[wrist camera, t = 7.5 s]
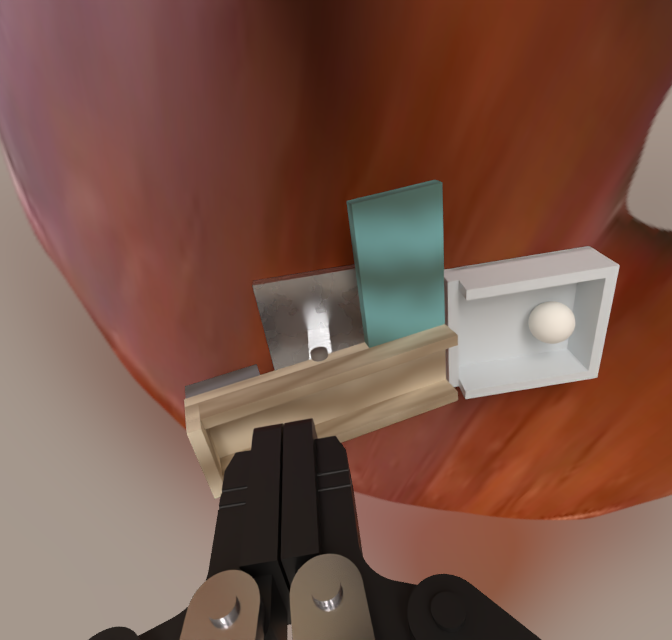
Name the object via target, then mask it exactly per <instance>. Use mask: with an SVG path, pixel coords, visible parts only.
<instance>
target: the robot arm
mask: <svg viewBox="0 0 672 640" xmlns="http://www.w3.org/2000/svg"><path fill="white" fill-rule="evenodd" d="M289 624H291V625H292V640H541V639H540V638H539V637H537V636H536V635H535V634H533V633H532V632H531V631H530V630H528V629H527V628H526V627H525V626H523V625H522V624H521V623H520V622H518V621H517V620H516V619H514V618H513V617H512V616H511V615H509V614H508V613H507V612H506V611H504V610H503V609H502V608H501V607H499V606H498V605H497V604H495V603H494V602H493V601H492V600H491V599H489V598H488V597H487V596H485V595H484V594H483V593H481V592H480V591H479V590H478V589H477V588H475V587H474V586H473V585H472V584H470V583H469V582H467V581H466V580H464V579H462V578H460V577H457V576H454V575H449V574H438V575H433V576H430V577H428V578H426V579H424V580H423V581H421V582H420V583H419V584H418V585H414V584H409V583H404V582H398V581H394V580H390V579H387V578H385V577H383V576H380V575H379V574H377V573H376V572H375V571H374V570H372V569H371V568H370V567H369V565H368V564H367V563H366V562H365V560H364V558H363V554H362V547H361V540H360V533H359V526H358V519H357V512H356V505H355V498H354V490H353V485H352V480H351V474H350V469H349V464H348V458H347V453H346V449H345V448H344V447H343V445H342V444H341V443H340V441H339V440H338V438H337V437H336V436H330V437H324V438H318V437H317V433H316V429H315V424H314V421H313V418H310V419H304V420H298V421H292V422H287V423H284V424H283V423H281V424H275V425H270V426H264V427H258V428H254V430H253V435H252V445H251V450H248V451H242V452H236V453H235V454H234V456H233V458H232V459H231V461H230V463H229V464H228V466H227V468H226V469H225V472H224V478H223V484H222V494H221V497H220V503H219V510H218V516H217V522H216V528H215V535H214V541H213V547H212V553H211V559H210V566H209V572H208V575H207V579H206V581H205V582H204V583H203V584H202V585H201V586H200V587H199V589H198V590H197V591H196V592H195V594H194V595H193V597H192V599H191V601H190V603H189V606H188V607H187V608H186V609H185V610H184V611H182V612H181V613H180V614H178V615H177V616H175V617H173V618H172V619H170V620H168V621H166V622H164V623H162V624H160V625H158V626H156V627H155V628H153V629H151V630H149V631H147V632H145V633H143V634H141V635H139V636H137V635H136V633H135V632H134V631H132V630H131V629H129V628H126V627H112V628H109V629H106V630H103V631H102V632H99V633H98V634H96V635H94V636H93V637H91V638H90V639H89V640H287V625H289Z"/></svg>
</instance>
